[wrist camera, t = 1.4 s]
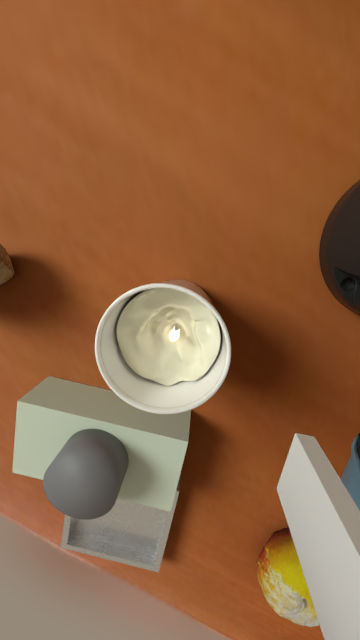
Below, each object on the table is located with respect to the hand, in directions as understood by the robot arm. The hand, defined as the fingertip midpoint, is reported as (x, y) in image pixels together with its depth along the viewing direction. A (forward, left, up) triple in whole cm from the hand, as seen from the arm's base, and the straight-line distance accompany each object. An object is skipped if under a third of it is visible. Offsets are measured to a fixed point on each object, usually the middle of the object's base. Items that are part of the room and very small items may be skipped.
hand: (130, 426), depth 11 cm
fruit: (-22, +29, -21) cm, 42 cm away
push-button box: (+5, +15, -21) cm, 26 cm away
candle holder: (0, 0, -21) cm, 21 cm away
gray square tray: (+2, +27, -21) cm, 34 cm away
